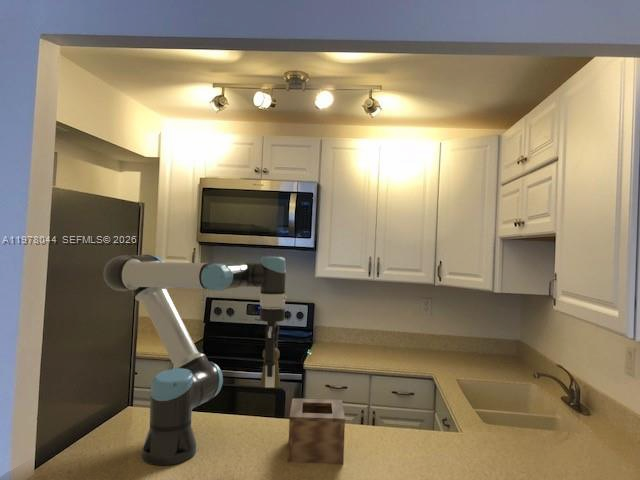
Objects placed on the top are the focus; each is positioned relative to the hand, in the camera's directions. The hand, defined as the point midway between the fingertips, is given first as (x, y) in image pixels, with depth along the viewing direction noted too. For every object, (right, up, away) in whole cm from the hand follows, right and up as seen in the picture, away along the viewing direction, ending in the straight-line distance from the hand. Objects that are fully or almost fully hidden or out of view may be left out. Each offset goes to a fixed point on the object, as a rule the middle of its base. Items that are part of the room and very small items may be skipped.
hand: (271, 383), depth 138 cm
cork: (0, 0, 0) cm, 1 cm away
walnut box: (+14, -21, +1) cm, 25 cm away
